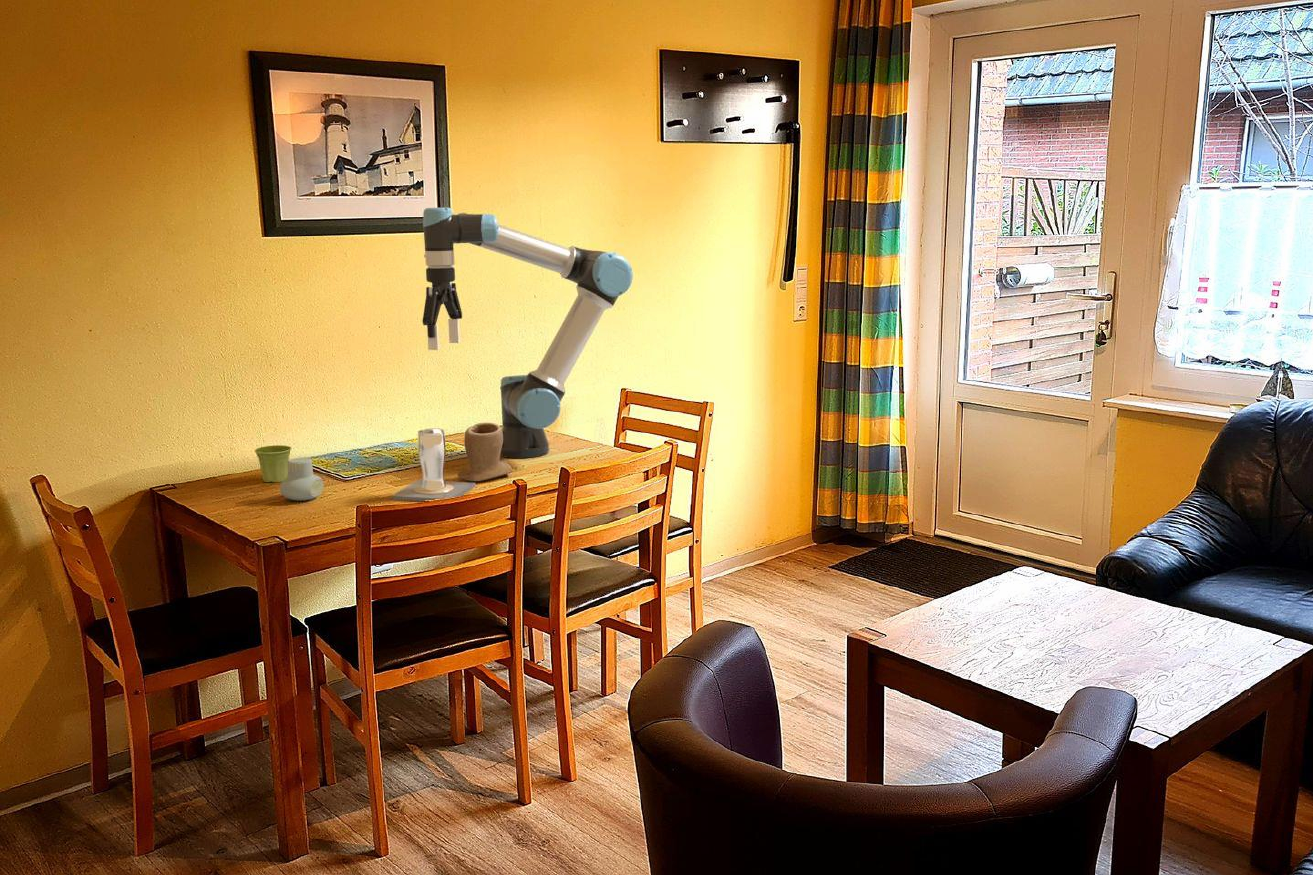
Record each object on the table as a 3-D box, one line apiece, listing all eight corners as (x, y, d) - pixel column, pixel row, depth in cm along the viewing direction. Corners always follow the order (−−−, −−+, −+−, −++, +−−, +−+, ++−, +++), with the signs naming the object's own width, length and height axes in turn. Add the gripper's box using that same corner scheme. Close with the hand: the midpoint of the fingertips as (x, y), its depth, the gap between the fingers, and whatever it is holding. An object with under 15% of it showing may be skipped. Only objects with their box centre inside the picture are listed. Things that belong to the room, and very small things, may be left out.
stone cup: (477, 487, 294) (474, 431, 291) (452, 479, 303) (449, 424, 300) (524, 477, 304) (522, 422, 301) (498, 469, 313) (496, 416, 310)
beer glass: (441, 492, 285) (438, 434, 282) (416, 491, 287) (412, 433, 283) (451, 485, 292) (448, 428, 289) (426, 484, 293) (423, 427, 290)
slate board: (419, 483, 299) (418, 479, 298) (475, 486, 295) (475, 482, 295) (391, 499, 284) (391, 495, 283) (450, 502, 280) (450, 498, 280)
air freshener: (307, 504, 280) (304, 465, 278) (277, 503, 282) (273, 464, 279) (327, 493, 291) (324, 455, 288) (298, 492, 292) (294, 454, 290)
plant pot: (283, 474, 311) (281, 443, 309) (300, 479, 304) (297, 448, 302) (251, 480, 304) (248, 449, 302) (267, 486, 298) (264, 454, 296)
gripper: (446, 263, 312) (450, 339, 316) (406, 270, 288) (411, 352, 293) (471, 263, 310) (475, 340, 315) (433, 270, 286) (437, 353, 291)
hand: (444, 346), depth 304 cm, fingers open, 13 cm apart
